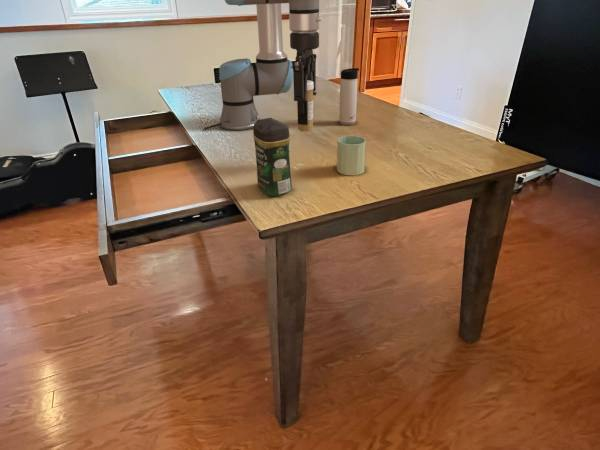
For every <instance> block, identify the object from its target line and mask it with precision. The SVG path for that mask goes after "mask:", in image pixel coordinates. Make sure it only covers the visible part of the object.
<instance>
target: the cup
mask: <svg viewBox="0 0 600 450" xmlns="http://www.w3.org/2000/svg"><path fill="white" fill-rule="evenodd" d="M366 154H367V139H366V137H363V136H360V135H353V134H352V135H350V134H349V135H343V136H340V137H338V138H337V140H336V171H337V172H338V173H339V174H341V175H344V176H357V175H361V174H363V173H364V172H365V168H366Z"/></svg>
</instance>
